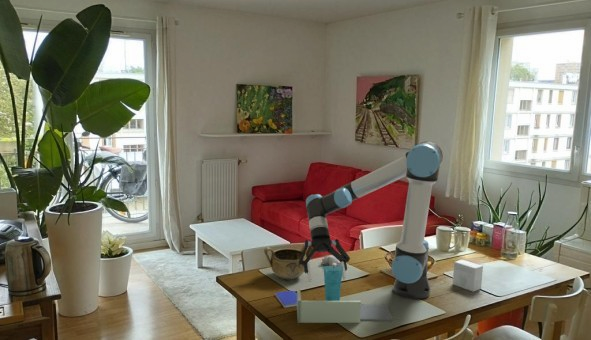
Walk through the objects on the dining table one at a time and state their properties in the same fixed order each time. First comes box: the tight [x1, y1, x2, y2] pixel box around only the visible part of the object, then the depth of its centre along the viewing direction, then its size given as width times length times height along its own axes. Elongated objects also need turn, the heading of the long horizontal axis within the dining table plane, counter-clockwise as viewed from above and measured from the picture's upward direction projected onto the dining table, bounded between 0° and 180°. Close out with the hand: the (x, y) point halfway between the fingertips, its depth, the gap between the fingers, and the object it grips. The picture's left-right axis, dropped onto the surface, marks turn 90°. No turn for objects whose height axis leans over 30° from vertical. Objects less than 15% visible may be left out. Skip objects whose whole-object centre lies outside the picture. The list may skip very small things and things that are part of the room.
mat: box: [360, 304, 394, 322], centre depth 180 cm, size 12×12×1 cm
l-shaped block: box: [296, 288, 362, 324], centre depth 177 cm, size 23×11×8 cm, turn 91°
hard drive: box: [275, 290, 303, 308], centre depth 191 cm, size 2×8×12 cm
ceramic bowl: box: [263, 244, 313, 280], centre depth 213 cm, size 22×17×15 cm
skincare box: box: [452, 259, 484, 292], centre depth 206 cm, size 10×6×10 cm, turn 37°
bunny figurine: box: [321, 254, 348, 266], centre depth 229 cm, size 10×5×15 cm
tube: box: [323, 265, 343, 301], centre depth 177 cm, size 7×5×19 cm, turn 99°
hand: (327, 279), depth 179 cm, fingers open, 13 cm apart
